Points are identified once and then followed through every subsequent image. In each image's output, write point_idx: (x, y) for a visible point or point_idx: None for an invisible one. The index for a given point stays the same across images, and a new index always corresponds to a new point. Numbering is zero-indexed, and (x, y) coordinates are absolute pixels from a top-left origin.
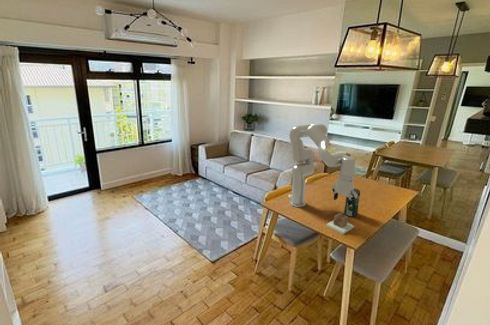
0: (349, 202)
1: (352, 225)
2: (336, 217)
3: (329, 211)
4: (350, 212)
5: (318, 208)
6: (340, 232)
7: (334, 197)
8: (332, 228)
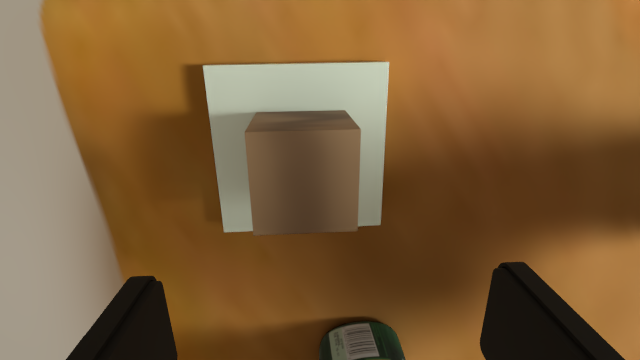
0: (88, 356)
1: (230, 222)
2: (329, 128)
3: (485, 274)
4: (343, 351)
5: (573, 246)
6: (236, 64)
7: (549, 300)
8: (320, 62)
